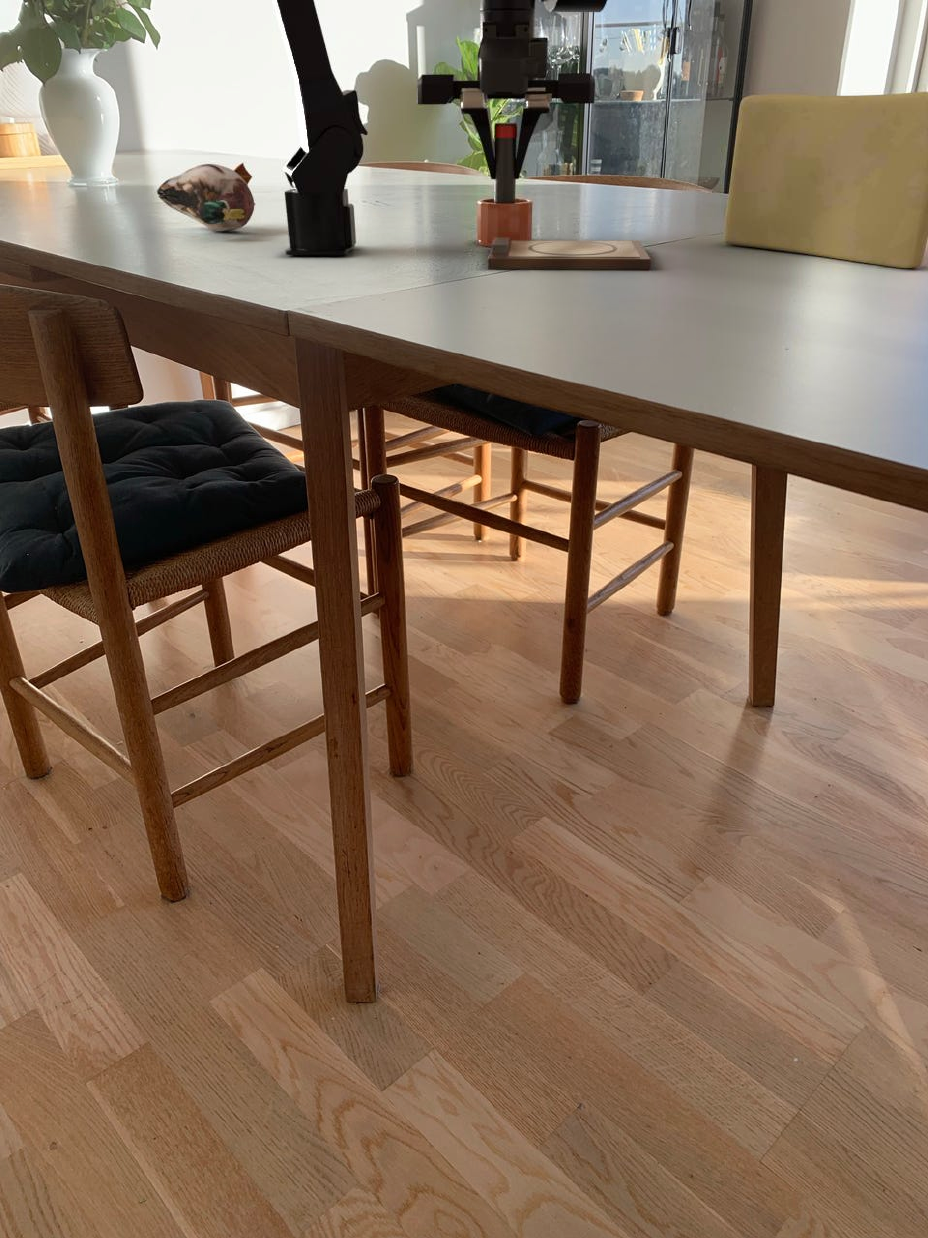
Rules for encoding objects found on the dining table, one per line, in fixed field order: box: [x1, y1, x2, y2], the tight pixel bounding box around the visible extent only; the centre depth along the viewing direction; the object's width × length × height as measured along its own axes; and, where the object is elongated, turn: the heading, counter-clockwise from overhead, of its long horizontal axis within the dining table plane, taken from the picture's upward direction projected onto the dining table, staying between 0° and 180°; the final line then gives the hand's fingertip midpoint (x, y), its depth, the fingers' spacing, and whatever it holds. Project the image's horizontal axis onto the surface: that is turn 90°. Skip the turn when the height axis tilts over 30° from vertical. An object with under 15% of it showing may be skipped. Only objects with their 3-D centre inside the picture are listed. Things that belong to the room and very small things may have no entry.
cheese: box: [722, 91, 928, 269], centre depth 93 cm, size 22×10×15 cm, turn 31°
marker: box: [493, 122, 518, 203], centre depth 102 cm, size 2×2×9 cm
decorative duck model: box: [156, 162, 256, 232], centre depth 113 cm, size 15×8×15 cm
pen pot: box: [476, 197, 534, 248], centre depth 104 cm, size 6×6×4 cm
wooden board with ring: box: [487, 237, 652, 271], centre depth 95 cm, size 16×12×2 cm
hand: (504, 178), depth 102 cm, fingers closed on marker, 2 cm apart
